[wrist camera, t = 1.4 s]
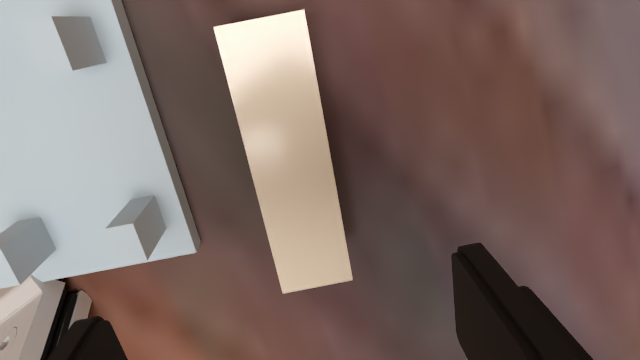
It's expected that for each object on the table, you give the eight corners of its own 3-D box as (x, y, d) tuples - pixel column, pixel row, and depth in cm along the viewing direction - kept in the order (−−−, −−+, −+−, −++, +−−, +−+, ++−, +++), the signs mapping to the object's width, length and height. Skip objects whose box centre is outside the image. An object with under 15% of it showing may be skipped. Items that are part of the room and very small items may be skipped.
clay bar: (342, 237, 31) (352, 280, 26) (283, 248, 31) (282, 293, 26) (301, 11, 25) (304, 9, 20) (228, 25, 25) (213, 27, 20)
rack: (200, 241, 30) (182, 287, 25) (39, 272, 30) (-12, 324, 25) (111, -30, 23) (61, -44, 18) (-96, 10, 23) (-205, 7, 18)
